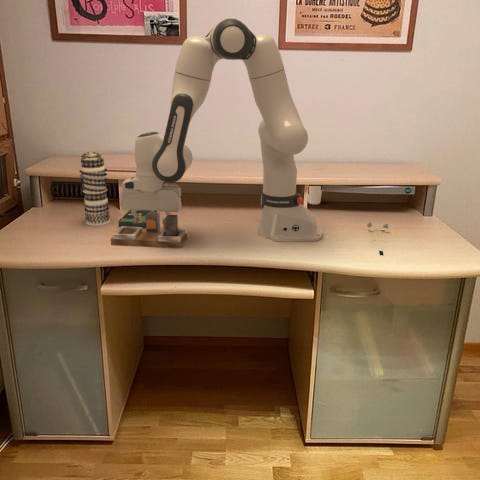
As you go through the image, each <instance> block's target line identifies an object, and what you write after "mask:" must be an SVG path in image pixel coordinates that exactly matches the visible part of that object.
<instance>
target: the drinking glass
mask: <svg viewBox="0 0 480 480" xmlns="http://www.w3.org/2000/svg"><path fill="white" fill-rule="evenodd" d="M310 167H322V168H324V169H325V167H324V166H320V165H311V166H308V168H307V170H308V169H311V168H310ZM311 170H323V169H311ZM325 170H326V169H325ZM322 193H323V189H322V190H321V186H309V194H308V193H307V203H308V204H309V205H313V206H314V205H320V204H321V201H322V199H321V198H322Z"/></svg>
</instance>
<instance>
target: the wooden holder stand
mask: <svg viewBox="0 0 480 480" xmlns="http://www.w3.org/2000/svg"><path fill="white" fill-rule="evenodd" d="M166 216H167V217H164V218H165V221H164V222H163V221H162V225H163V229H162V231H160V232H146V231H143V228H142V227H127V226H121V227H118V229H117V230H116V231H115V232H114V233H113V235H112V236H111V238H110V245H111V246H112V245H113V246H128V245H135V246H134V247H147V246H148V247H149V248H150V247H152V248H166V247H168V248H169V247H170V248H172V249H183V247H184V246H185V244H186V242H187V240H188V233H186V229H183V228H179V219H178V217H179V216H178V214H170V215H166ZM183 245H184V246H183ZM168 248H167V249H168Z"/></svg>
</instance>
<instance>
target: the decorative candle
mask: <svg viewBox="0 0 480 480" xmlns="http://www.w3.org/2000/svg"><path fill="white" fill-rule="evenodd" d="M104 157H105V156H104V155H102V154H101V153H100V152H99V151H98V152H97V151H87V152H83V153H82V155H81V156H80V157H79V160H80V163H81V164H80V165H81V166H80V170H79V173H80V175H79V177H80V182H81V183H82V184H81V188H82V193H83V195H84V199H83V200H84V204H83V206H84V211H85V213H84V215H85V223H86V225H88V226H93V227H94V226H96V227H97V226H105V225H107V224H109V223H110V222H111V219H110V218H111V216H110V210H109V209H110V206H109V205H110V203H109V201H108V197H107V191H108V188H107V186H108V182H107V181H108V179H107V178H106V176H107V175H108V173H107V171H108V170H107V168H106V167H105V164H104V163H105V161H104V160H105V159H104Z"/></svg>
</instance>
